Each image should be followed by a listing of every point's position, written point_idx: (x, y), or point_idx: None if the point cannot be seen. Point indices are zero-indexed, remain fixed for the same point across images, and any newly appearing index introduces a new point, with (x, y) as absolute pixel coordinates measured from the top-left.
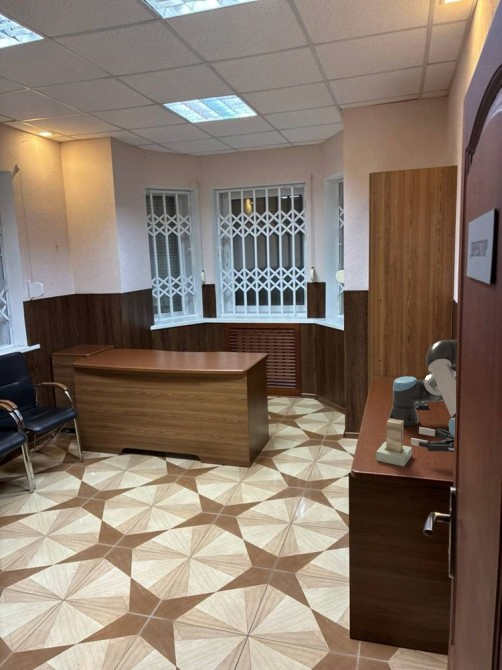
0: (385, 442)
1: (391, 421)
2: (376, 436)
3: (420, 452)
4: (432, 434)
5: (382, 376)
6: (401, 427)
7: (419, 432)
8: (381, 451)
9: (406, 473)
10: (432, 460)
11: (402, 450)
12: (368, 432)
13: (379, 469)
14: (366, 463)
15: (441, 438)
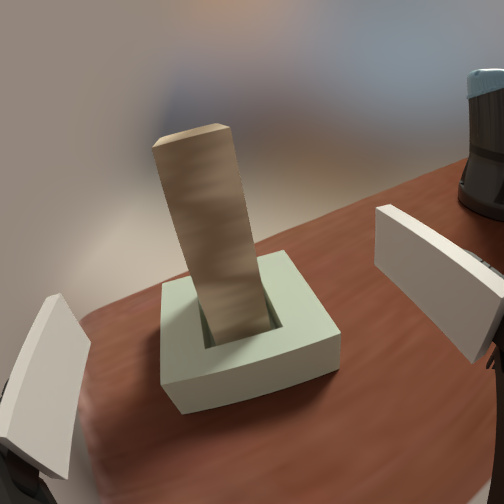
0: (279, 254)
1: (170, 136)
2: (360, 223)
3: (415, 365)
4: (462, 332)
5: None
6: (179, 178)
7: (377, 256)
8: (173, 291)
9: (115, 449)
10: (389, 468)
11: (270, 329)
12: (359, 207)
13: (106, 356)
14: (135, 310)
15: (494, 456)
